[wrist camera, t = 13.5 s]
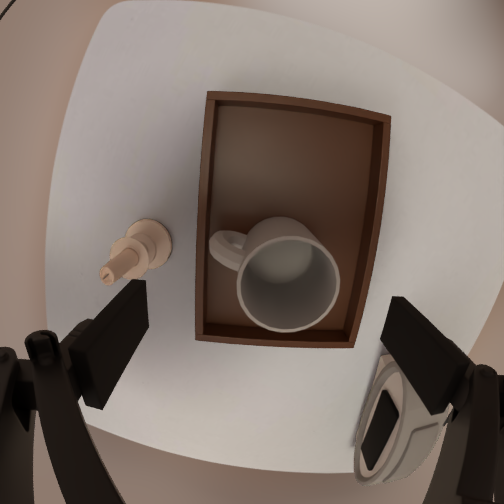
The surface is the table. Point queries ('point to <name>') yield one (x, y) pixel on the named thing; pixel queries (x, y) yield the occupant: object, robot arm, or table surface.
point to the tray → (289, 203)
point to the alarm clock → (393, 428)
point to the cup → (280, 273)
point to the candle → (137, 251)
